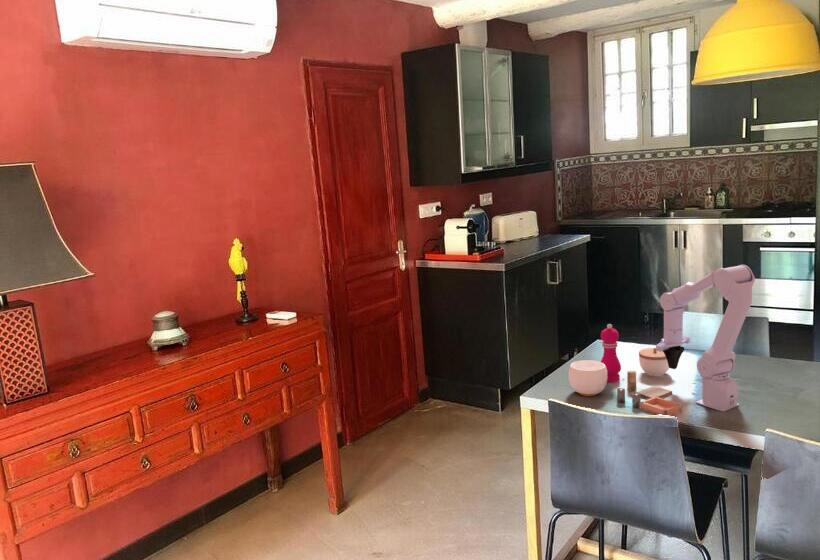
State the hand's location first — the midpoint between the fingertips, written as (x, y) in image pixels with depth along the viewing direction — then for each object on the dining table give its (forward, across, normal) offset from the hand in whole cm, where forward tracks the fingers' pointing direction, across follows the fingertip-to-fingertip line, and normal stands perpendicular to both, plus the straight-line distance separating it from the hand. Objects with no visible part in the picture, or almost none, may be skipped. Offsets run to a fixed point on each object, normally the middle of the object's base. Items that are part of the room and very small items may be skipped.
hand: (672, 368), depth 222 cm
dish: (+7, +18, +10) cm, 22 cm away
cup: (+7, +24, -15) cm, 29 cm away
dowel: (+7, +10, -8) cm, 15 cm away
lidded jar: (+7, -8, -13) cm, 17 cm away
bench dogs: (+7, +22, 0) cm, 23 cm away
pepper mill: (+7, +8, -19) cm, 22 cm away
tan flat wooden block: (+7, +10, 0) cm, 12 cm away
